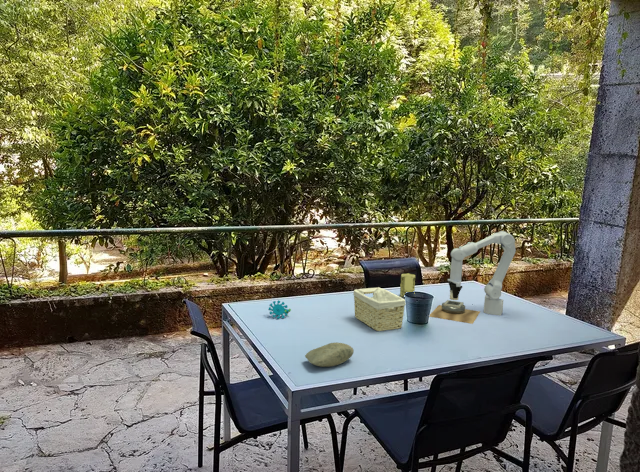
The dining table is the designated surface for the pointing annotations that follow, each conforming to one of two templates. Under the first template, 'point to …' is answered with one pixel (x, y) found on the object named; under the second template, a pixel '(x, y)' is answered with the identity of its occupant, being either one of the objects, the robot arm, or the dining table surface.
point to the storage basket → (379, 308)
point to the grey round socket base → (453, 307)
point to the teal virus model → (279, 309)
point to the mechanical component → (407, 284)
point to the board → (456, 315)
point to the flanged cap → (452, 296)
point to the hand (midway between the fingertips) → (454, 296)
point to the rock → (330, 354)
